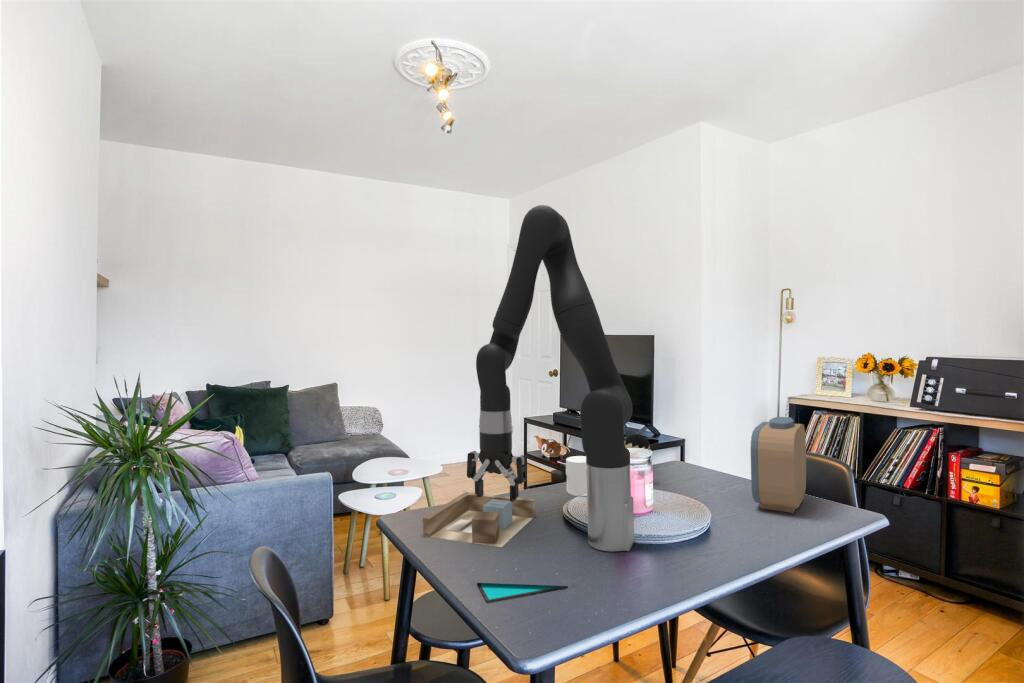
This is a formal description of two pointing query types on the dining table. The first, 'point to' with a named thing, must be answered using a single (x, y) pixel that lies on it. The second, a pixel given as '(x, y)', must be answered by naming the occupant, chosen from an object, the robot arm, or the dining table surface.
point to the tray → (459, 512)
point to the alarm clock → (778, 464)
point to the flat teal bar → (512, 590)
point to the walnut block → (485, 527)
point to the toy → (637, 442)
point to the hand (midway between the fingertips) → (496, 498)
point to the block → (500, 511)
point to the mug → (576, 475)
